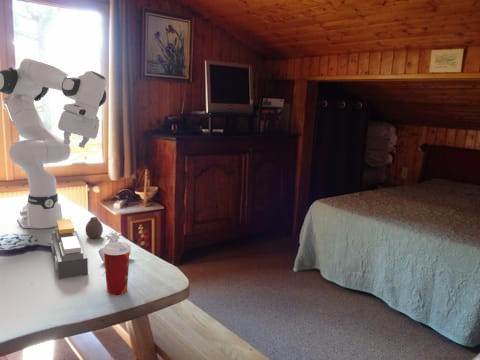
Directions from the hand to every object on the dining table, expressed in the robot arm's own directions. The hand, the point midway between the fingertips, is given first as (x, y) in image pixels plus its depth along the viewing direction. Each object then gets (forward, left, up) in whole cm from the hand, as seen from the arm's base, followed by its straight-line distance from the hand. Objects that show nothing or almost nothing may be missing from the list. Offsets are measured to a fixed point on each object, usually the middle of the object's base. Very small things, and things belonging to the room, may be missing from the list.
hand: (73, 145), depth 157 cm
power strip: (+15, -11, -40) cm, 44 cm away
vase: (-1, +8, -40) cm, 41 cm away
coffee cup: (+47, -11, -40) cm, 63 cm away
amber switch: (+7, -8, -30) cm, 32 cm away
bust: (+25, +2, -40) cm, 47 cm away
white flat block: (+23, -14, -31) cm, 42 cm away
